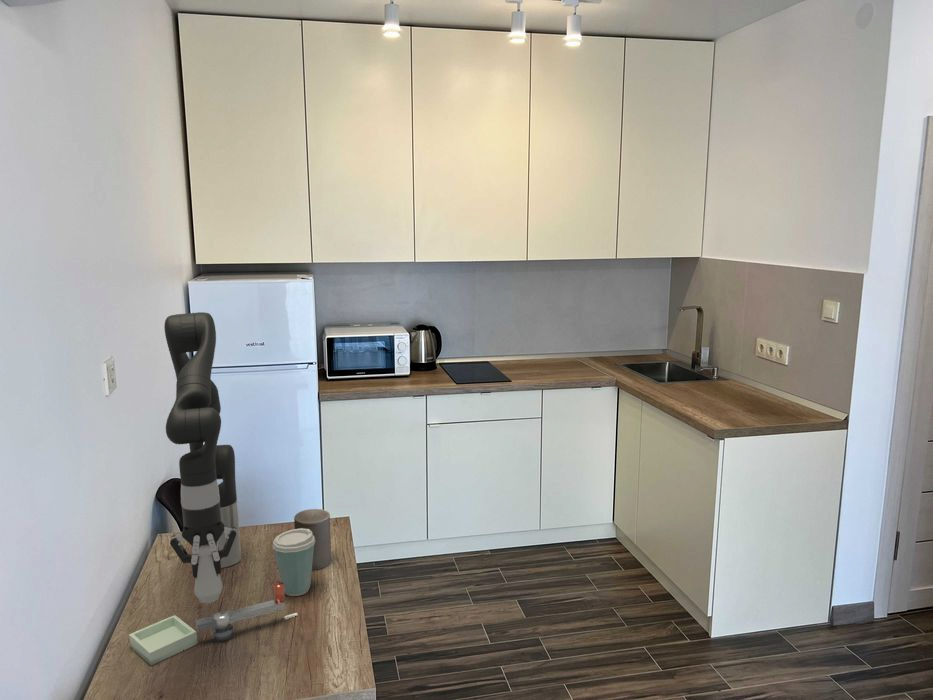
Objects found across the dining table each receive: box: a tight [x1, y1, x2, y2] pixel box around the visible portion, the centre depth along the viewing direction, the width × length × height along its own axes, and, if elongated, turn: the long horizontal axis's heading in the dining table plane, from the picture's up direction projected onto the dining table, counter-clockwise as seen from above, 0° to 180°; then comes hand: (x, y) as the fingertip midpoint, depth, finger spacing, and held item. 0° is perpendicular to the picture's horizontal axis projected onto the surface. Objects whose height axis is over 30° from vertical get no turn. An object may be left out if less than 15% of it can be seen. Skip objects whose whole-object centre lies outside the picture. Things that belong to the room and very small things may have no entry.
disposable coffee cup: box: [272, 528, 315, 597], centre depth 178 cm, size 11×11×15 cm
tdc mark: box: [283, 612, 299, 620], centre depth 167 cm, size 3×1×1 cm, turn 120°
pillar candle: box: [293, 508, 332, 571], centre depth 193 cm, size 10×10×15 cm
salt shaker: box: [193, 545, 223, 605], centre depth 150 cm, size 6×6×13 cm
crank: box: [195, 581, 286, 633], centre depth 160 cm, size 20×4×7 cm, turn 118°
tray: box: [128, 614, 199, 667], centre depth 156 cm, size 10×10×3 cm
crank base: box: [212, 623, 235, 643], centre depth 159 cm, size 4×4×2 cm
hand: (207, 576), depth 151 cm, fingers closed on salt shaker, 3 cm apart
